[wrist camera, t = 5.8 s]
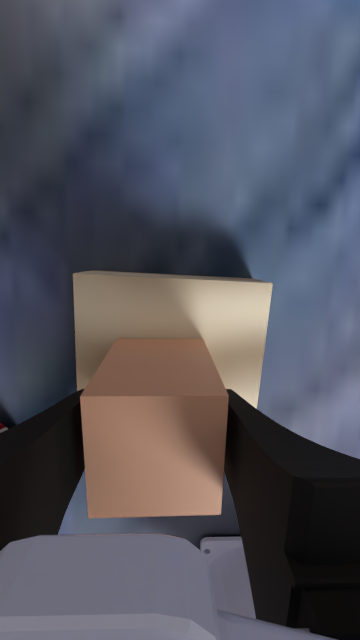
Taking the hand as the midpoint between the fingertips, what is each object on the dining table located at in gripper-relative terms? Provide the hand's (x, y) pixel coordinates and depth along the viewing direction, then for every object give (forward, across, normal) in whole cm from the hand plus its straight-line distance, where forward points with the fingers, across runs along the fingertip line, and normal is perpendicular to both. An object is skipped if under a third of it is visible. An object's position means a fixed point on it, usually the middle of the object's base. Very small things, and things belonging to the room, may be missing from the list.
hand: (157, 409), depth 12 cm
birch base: (+7, 0, 0) cm, 7 cm away
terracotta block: (+3, 0, 0) cm, 3 cm away
